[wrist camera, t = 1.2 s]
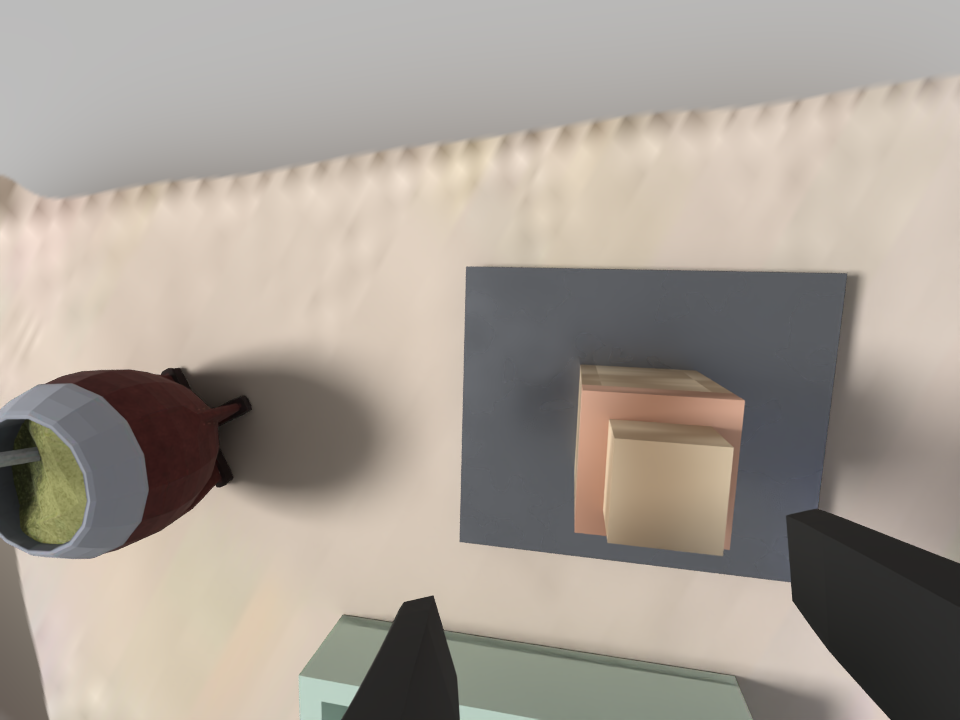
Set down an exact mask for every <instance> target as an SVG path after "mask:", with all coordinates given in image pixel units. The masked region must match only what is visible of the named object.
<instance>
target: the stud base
mask: <svg viewBox="0 0 960 720" xmlns="http://www.w3.org/2000/svg"><path fill="white" fill-rule="evenodd" d="M846 280H847V274H846V273H791V272H736V271H681V270H626V269H571V268H516V267H466V297H465V339H464V381H463V423H462V466H461V508H460V542H465V543H473V544H481V545H489V546H498V547H506V548H514V549H522V550H530V551H539V552H547V553H555V554H563V555H571V556H580V557H588V558H596V559H604V560H612V561H621V562H629V563H637V564H645V565H653V566H662V567H670V568H678V569H686V570H694V571H703V572H711V573H719V574H727V575H736V576H744V577H752V578H760V579H768V580H777V581H785V582H791V575H790V563H789V550H788V537H787V524H786V515H790V514H794V513H798V512H803V511H807V510H812V509H818V503H819V495H820V487H821V479H822V471H823V463H824V455H825V447H826V439H827V431H828V423H829V415H830V407H831V399H832V391H833V383H834V375H835V367H836V359H837V351H838V343H839V335H840V327H841V319H842V312H843V304H844V296H845V288H846ZM580 365H599V366H618V367H637V368H656V369H675V370H694V371H698V372H699V373H701V374H703V375H704V376H706V377H707V378H709V379H711V380H712V381H714V382H716V383H717V384H719V385H721V386H722V387H724V388H725V389H727V390H729V391H730V392H732V393H734V394H735V395H737V396H738V397H740V398H742V399H743V400H745V405H744V415H743V425H742V434H741V444H740V454H739V464H738V474H737V484H736V493H735V503H734V513H733V523H732V533H731V543H730V550H725V549H724V551H723V556H717V555H708V554H700V553H691V552H682V551H674V550H665V549H656V548H648V547H639V546H631V545H622V544H613V543H607V536H602V535H593V534H584V533H575V519H574V469H575V451H576V433H577V415H578V397H579V379H580Z"/></svg>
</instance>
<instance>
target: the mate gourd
mask: <svg viewBox="0 0 960 720" xmlns="http://www.w3.org/2000/svg"><path fill="white" fill-rule="evenodd" d="M250 410H252V406H251V404H250V402H249V400H248V398H247V397H246V396H242V397H239V398H236V399H234V400H231V401H229V402H227V403H225V404H223V405H221V406H219V407H217V408H212V409H211V408H210V407H209V406H207V405H206V404H205V403H204V402H203V401H202V400H201V399H200V398H199V397H198V396H197V395H196V394H194V393H193V392H192V391H191V389H190V387H189V385H188V383H187V381H186V379H185V377H184V375H183V373H182V371H181V370H180V368H175V369H174V368H168V369H166V370H164V371H163V372H162V373H161V375H156V374H151V373H148V372H142V371H135V370H96V371H81V372H77V373H73V374H69V375H65V376H61V377H59V378H57V379H55V380H52V381H50V382H48V383H46V384H40V385H37V386H35V387H33V388H31V389H30V390H28V391H26V392H25V393H23V394H21V395H19V396H18V397H16V398H14V399H12V400H11V401H9V402H8V403H7V404H6V405H5V406H4V407H2V408H1V409H0V537H1V538H2V539H3V540H4V541H5V542H6V543H8V544H10V545H12V546H14V547H16V548H18V549H20V550H22V551H24V552H26V553H28V554H30V555H33V556H41V557H52V558H67V559H91V558H95V557H97V556H100V555H102V554H104V553H108V552H112V551H115V550H119V549H121V548H123V547H125V546H128V545H130V544H132V543H134V542H137V541H139V540H141V539H143V538H146V537H148V536H150V535H152V534H154V533H157V532H159V531H161V530H162V529H164V528H165V527H167V526H168V525H170V524H171V523H173V522H174V521H175V520H177V519H178V518H180V517H181V516H183V515H184V514H186V513H187V512H189V511H190V510H191V509H193V508H194V507H195V506H196V505H197V504H198V503H199V502H200V501H201V500H202V499H203V498H204V497H205V495H206V494H207V493H208V492H209V491H210V490H211V489H212V488H213V487H214V486H215V485H216V487H219V488H220V487H222V486H224V485H226V484H227V483H228V482H229V481H231V480H232V479H233V475H232V473H231V470H230V468H229V466H228V464H227V462H226V460H225V458H224V456H223V454H222V452H221V450H220V448H219V436H218V427H219V426H221V425H223V424H225V423H227V422H229V421H231V420H233V419H235V418H237V417H239V416H241V415H243V414H245V413H247V412H248V411H250Z"/></svg>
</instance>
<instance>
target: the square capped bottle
mask: <svg viewBox="0 0 960 720" xmlns="http://www.w3.org/2000/svg"><path fill="white" fill-rule="evenodd" d="M744 405H745V400H743V399H742V398H740V397H738V396H737V395H735V394H734V393H732V392H730V391H729V390H727V389H725V388H724V387H722V386H721V385H719V384H717V383H716V382H714V381H712V380H711V379H709V378H707V377H706V376H704V375H703V374H701V373H699V372H698V371H694V370H675V369H656V368H637V367H618V366H599V365H580V379H579V397H578V415H577V433H576V451H575V469H574V519H575V533H584V534H593V535H602V536H607V543H613V544H622V545H631V546H639V547H648V548H656V549H665V550H674V551H682V552H691V553H700V554H708V555H717V556H723V551H724V549H725V550H730V543H731V533H732V523H733V513H734V503H735V493H736V484H737V474H738V464H739V454H740V444H741V434H742V425H743V415H744Z"/></svg>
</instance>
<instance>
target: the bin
mask: <svg viewBox="0 0 960 720" xmlns="http://www.w3.org/2000/svg"><path fill="white" fill-rule="evenodd" d="M391 625H392V622H385V621H379V620H373V619H366V618H360V617H353V616H347V615H342V617H341V618H340V619H339V621H338V622H337V623H336V625H335V626H334V628H333V629H332V630H331V632H330V633H329V634H328V636H327V637H326V639H325V640H324V641H323V643H322V644H321V646H320V647H319V648H318V650H317V651H316V652H315V654H314V655H313V657H312V658H311V659H310V661H309V662H308V663H307V665H306V666H305V668H304V669H303V670H302V672H301V673H300V674H299V708H300V720H341V719H342V717H343V715H344V714H345V712H346V710H347V709H348V707H349V705H350V703H351V702H352V700H353V698H354V696H355V694H356V692H357V691H358V689H359V687H360V685H361V683H362V681H363V680H364V678H365V676H366V674H367V672H368V670H369V668H370V667H371V665H372V663H373V661H374V659H375V657H376V655H377V653H378V651H379V649H380V647H381V645H382V643H383V641H384V639H385V637H386V635H387V633H388V631H389V629H390V627H391ZM444 633H445V637H446V640H447V643H448V647H449V650H450V654H451V657H452V660H453V664H454V667H455V671H456V674H457V681H458V696H459V712H460V720H753V719H752V716H751V714H750V712H749V709H748V707H747V705H746V702H745V700H744V697H743V695H742V693H741V690H740V688H739V686H738V683H737V681H736V678H735V676H731V675H725V674H718V673H712V672H705V671H699V670H693V669H686V668H680V667H673V666H667V665H661V664H654V663H648V662H641V661H635V660H629V659H622V658H616V657H609V656H603V655H597V654H590V653H584V652H577V651H571V650H565V649H558V648H552V647H545V646H539V645H533V644H526V643H520V642H513V641H507V640H501V639H494V638H488V637H481V636H475V635H469V634H462V633H456V632H449V631H444Z"/></svg>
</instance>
